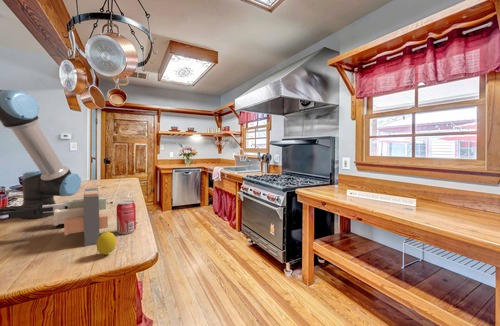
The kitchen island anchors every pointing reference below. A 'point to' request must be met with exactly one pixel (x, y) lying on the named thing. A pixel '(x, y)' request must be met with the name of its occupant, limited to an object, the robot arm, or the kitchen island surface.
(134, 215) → the soda can
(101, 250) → the lemon
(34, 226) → the kitchen island surface
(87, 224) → the key panel
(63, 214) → the ivory key
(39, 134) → the robot arm
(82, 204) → the sage key
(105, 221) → the terracotta key
